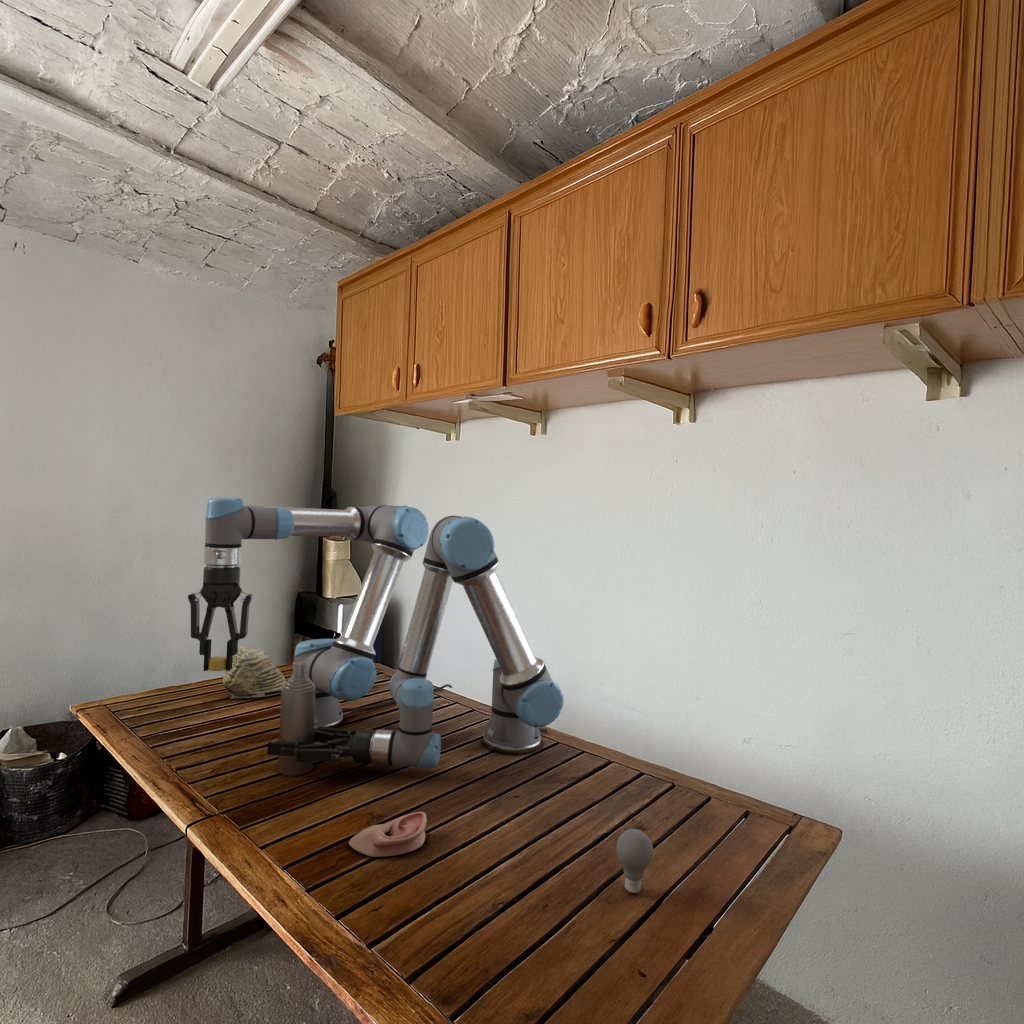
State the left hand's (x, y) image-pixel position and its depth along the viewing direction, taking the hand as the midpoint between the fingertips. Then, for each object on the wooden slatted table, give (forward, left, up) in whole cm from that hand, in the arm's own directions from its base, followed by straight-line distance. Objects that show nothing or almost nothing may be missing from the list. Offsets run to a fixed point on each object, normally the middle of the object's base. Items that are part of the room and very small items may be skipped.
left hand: (218, 669), depth 143 cm
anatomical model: (-8, +51, -23) cm, 56 cm away
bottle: (-14, +11, -23) cm, 29 cm away
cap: (0, 0, +2) cm, 2 cm away
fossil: (-35, -45, -23) cm, 61 cm away
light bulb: (-25, +92, -23) cm, 98 cm away
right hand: (-11, +7, -17) cm, 22 cm away
